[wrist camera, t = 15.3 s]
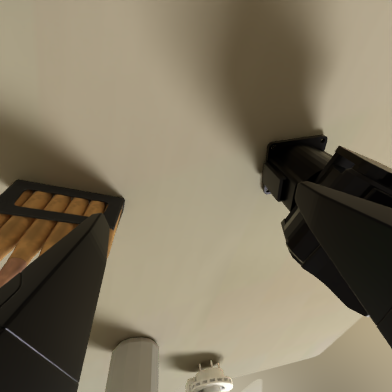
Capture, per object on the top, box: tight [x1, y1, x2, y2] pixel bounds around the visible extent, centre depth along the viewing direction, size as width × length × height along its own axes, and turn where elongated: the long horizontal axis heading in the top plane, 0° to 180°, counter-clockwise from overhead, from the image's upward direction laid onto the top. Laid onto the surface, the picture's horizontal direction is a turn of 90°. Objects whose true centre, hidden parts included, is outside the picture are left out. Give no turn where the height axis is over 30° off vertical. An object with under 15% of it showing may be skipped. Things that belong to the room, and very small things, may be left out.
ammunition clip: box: [0, 180, 125, 287], centre depth 18 cm, size 11×2×12 cm, turn 72°
